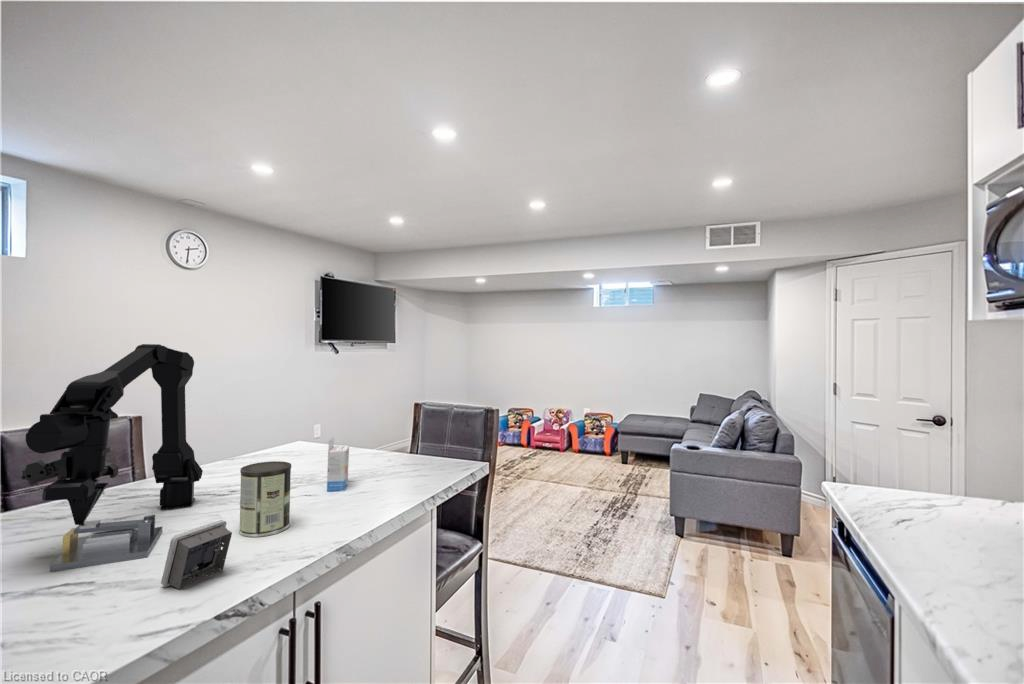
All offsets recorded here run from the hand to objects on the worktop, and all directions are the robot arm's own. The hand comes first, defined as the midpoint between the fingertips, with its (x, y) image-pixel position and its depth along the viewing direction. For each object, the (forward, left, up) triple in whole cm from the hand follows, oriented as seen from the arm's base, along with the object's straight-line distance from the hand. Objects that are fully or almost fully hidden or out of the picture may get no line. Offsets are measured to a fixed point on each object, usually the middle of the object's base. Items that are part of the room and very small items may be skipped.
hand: (79, 524), depth 90 cm
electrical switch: (-22, +21, -6) cm, 31 cm away
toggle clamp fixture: (-5, 0, -6) cm, 8 cm away
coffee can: (-32, 0, -6) cm, 33 cm away
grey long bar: (-5, 0, -2) cm, 6 cm away
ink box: (-51, -27, -6) cm, 58 cm away
